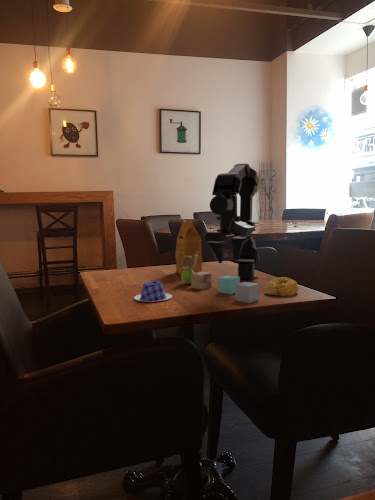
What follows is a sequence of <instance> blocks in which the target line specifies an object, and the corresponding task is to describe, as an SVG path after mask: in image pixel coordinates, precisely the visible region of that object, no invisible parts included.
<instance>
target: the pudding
mask: <svg viewBox="0 0 375 500" xmlns="http://www.w3.org/2000/svg"><path fill="white" fill-rule="evenodd" d="M133 298H134V300H136V301H137V302H138V301H139V302H146V303H147V302H148V303H149V302H150V303H154V302H162V301H167V300H170V299H172V298H173V295H172V294H171V293H168V292H166V291H165V288H164V285H163V283H162V282H161V281H157V280H156V281H153V280H151V281H146V282H144V283H143V284H142V289H141V293H140V294H137V295H135V296H134V297H133Z"/></svg>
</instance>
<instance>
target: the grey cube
mask: <svg viewBox="0 0 375 500" xmlns="http://www.w3.org/2000/svg"><path fill="white" fill-rule="evenodd" d="M235 287H236V293H235V302H241V303H248V304H251V303H253V302H257V301H259V300H260V284H259V283H256V282H247V281H243V282H240V283H239V284H236V285H235Z"/></svg>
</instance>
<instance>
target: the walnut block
mask: <svg viewBox="0 0 375 500" xmlns="http://www.w3.org/2000/svg"><path fill="white" fill-rule="evenodd" d="M190 285H191V289H197V290H206V289H210V288H212V286H213V285H212V273H211V272H206V271H202V272H197V273H193V274H191V284H190Z"/></svg>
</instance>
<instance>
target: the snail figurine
mask: <svg viewBox="0 0 375 500" xmlns="http://www.w3.org/2000/svg"><path fill="white" fill-rule="evenodd" d="M197 254H198V251H197ZM197 254H196V255H195V256H194V257H195V259H194V260H193V258H192V257H191V256H184V257H183V258H182V264H183V266H182V268H183V269H185V270H184V271H183V272H182V275H180V278H181V280H182V282H183V283H184V284H186V285H191V274H193V273H195V272H194V271H193V270H191V269H193V268H195V266H196V264H197V260H198V255H197Z"/></svg>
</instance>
